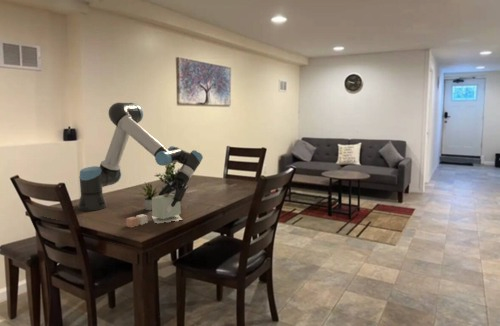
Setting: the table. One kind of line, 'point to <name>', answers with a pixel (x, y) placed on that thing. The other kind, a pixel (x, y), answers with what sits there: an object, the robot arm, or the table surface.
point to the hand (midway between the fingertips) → (161, 209)
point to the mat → (167, 219)
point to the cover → (164, 206)
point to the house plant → (148, 196)
